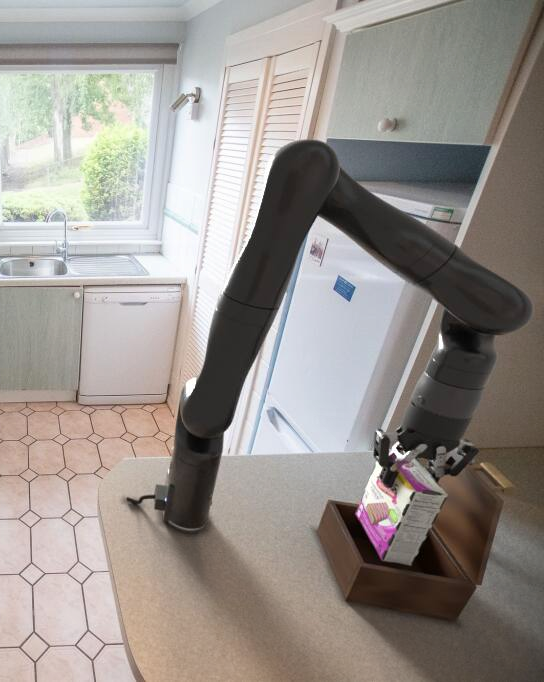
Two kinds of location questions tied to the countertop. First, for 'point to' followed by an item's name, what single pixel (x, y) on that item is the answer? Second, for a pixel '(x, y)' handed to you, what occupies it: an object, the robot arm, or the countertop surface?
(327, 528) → the chest
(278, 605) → the countertop surface
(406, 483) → the candy bar box
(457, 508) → the lid
